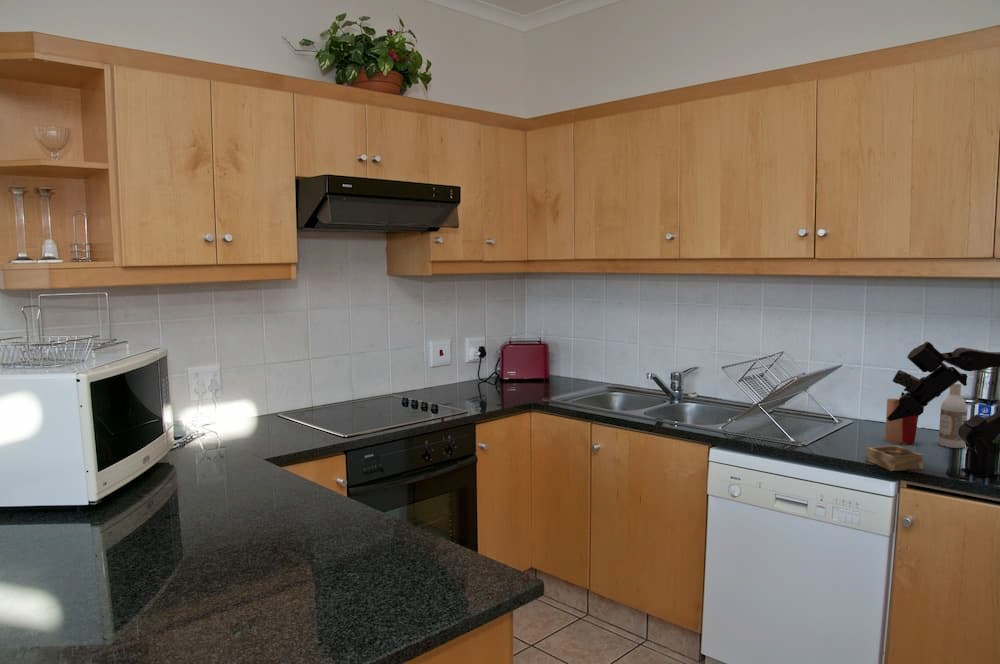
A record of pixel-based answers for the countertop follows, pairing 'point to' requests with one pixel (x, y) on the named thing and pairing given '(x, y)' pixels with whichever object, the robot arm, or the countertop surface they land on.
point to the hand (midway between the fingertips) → (888, 418)
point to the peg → (893, 423)
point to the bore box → (894, 458)
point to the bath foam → (952, 418)
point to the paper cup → (909, 429)
